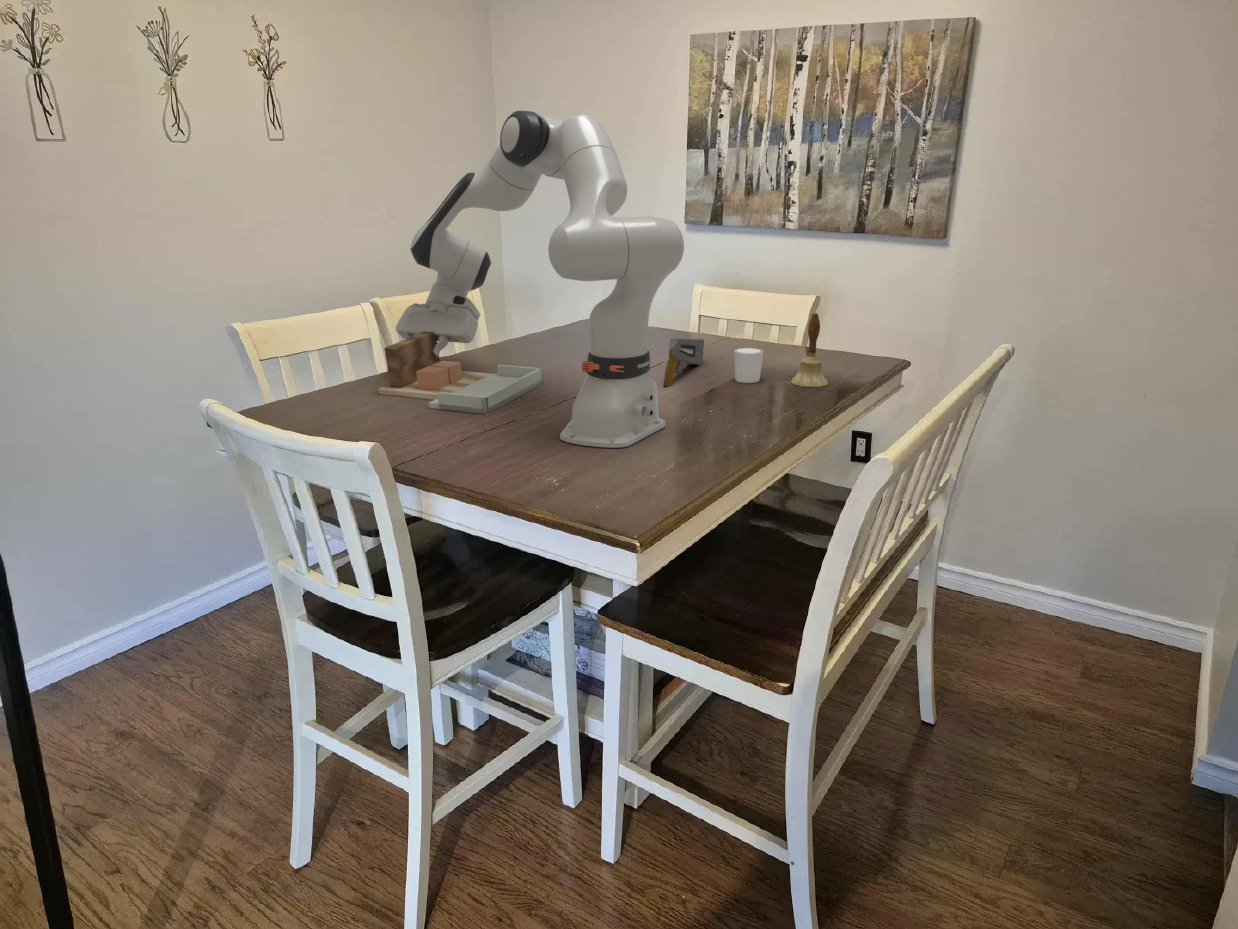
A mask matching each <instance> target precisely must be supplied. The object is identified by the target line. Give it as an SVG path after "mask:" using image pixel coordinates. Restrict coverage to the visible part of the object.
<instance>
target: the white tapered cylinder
mask: <svg viewBox="0 0 1238 929" xmlns="http://www.w3.org/2000/svg"><path fill="white" fill-rule="evenodd" d="M763 357H764V350H763V349H761V348H755V347H739V348H735V349H733V362H734V363H733V364H734V380H735V381H736V382H737V383H742V384H753V383H758V382H760V380H761V372H762V365H763Z"/></svg>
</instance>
